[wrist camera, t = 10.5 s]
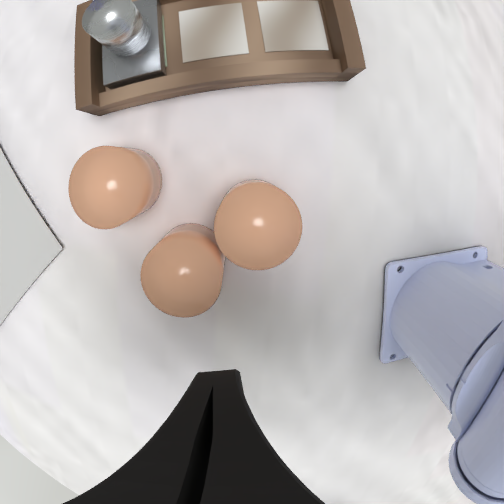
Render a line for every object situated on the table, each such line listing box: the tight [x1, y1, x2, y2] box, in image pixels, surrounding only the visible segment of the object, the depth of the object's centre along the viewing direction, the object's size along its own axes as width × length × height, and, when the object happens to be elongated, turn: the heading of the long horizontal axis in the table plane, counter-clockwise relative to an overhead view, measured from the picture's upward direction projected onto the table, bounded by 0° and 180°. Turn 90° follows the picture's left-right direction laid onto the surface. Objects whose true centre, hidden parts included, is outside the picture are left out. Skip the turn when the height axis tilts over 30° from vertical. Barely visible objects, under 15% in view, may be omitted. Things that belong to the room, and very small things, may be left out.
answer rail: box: [75, 0, 366, 116], centre depth 13 cm, size 15×7×3 cm, turn 97°
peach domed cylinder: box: [69, 146, 162, 229], centre depth 15 cm, size 4×4×4 cm
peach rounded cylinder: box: [141, 223, 225, 317], centre depth 17 cm, size 4×4×4 cm
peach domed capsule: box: [214, 180, 302, 270], centre depth 16 cm, size 4×4×4 cm
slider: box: [82, 0, 166, 90], centre depth 11 cm, size 3×5×5 cm, turn 7°
